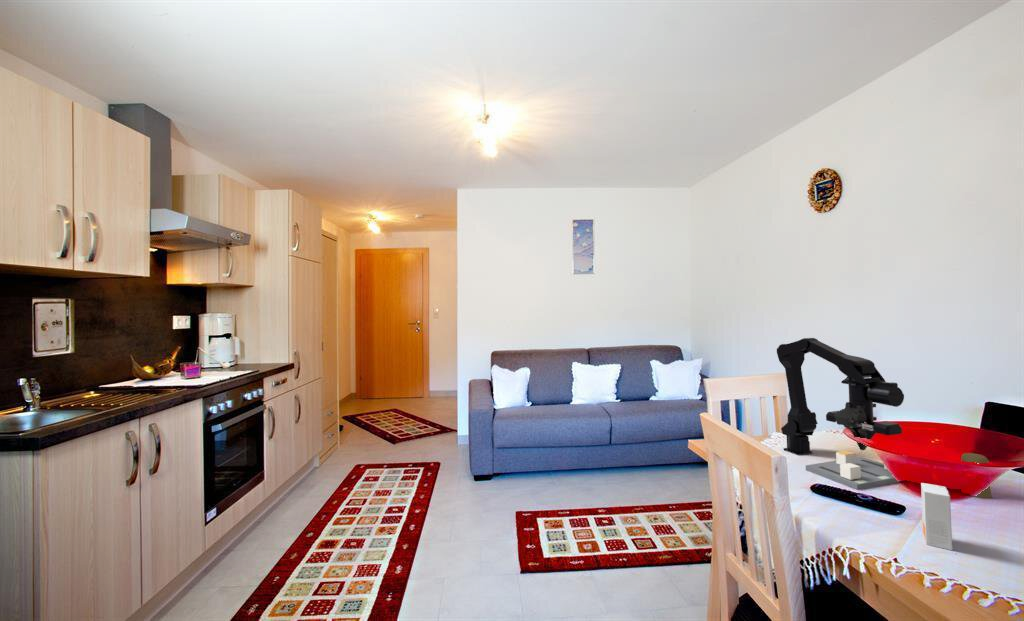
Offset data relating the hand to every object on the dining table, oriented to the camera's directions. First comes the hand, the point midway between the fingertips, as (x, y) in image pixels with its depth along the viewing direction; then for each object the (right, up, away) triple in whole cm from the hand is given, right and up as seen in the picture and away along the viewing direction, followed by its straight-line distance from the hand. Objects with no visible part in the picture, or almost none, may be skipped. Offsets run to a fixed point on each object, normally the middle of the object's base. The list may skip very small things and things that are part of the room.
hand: (862, 449), depth 131 cm
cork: (+20, -8, -14) cm, 25 cm away
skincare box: (-14, -9, -37) cm, 40 cm away
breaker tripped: (-1, -6, +5) cm, 8 cm away
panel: (0, -8, +1) cm, 8 cm away
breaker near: (-8, -7, -5) cm, 11 cm away
